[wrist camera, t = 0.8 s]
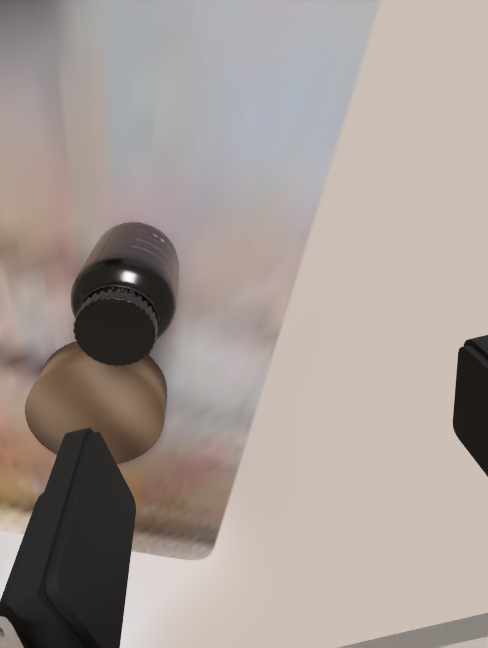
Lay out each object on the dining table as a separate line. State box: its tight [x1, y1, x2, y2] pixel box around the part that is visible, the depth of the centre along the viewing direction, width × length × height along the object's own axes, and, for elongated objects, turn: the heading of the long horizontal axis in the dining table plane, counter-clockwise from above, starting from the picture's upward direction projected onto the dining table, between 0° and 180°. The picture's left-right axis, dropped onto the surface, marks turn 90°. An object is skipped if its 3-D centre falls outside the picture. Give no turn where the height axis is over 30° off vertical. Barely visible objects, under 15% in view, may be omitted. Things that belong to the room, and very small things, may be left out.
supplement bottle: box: [71, 222, 178, 366], centre depth 30 cm, size 7×7×12 cm
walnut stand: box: [25, 341, 167, 464], centre depth 40 cm, size 12×12×4 cm
